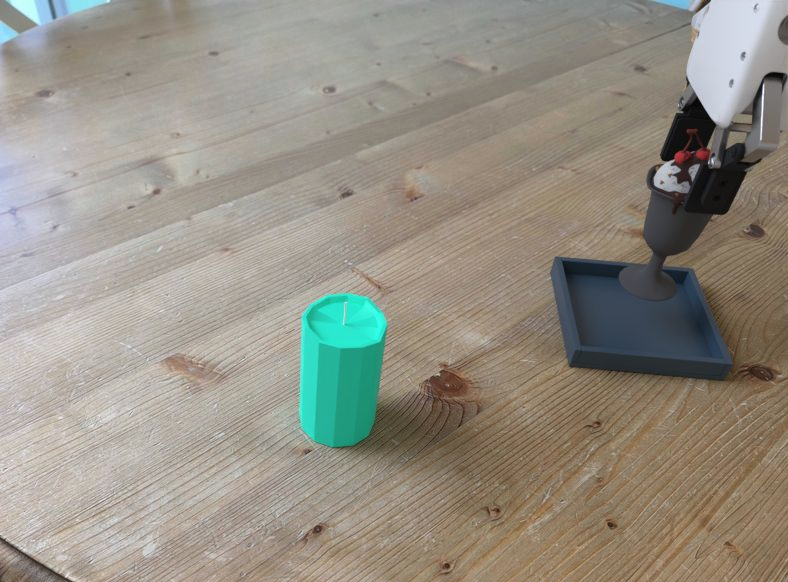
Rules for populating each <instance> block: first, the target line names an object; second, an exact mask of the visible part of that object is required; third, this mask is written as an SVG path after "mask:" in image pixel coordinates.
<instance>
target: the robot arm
mask: <svg viewBox="0 0 788 582" xmlns="http://www.w3.org/2000/svg"><path fill="white" fill-rule="evenodd" d="M709 3H710V4H709ZM709 3H708V4H709V7H708V9H707V11H706V14H705V16H704V18H703V21H702V23H701V26H700V28H699V31H698V33H697V36H696V39H695V41H694V44H693V43H692V44H693V45H692V47H691V50H690V54H689V57H688V60H687V64H686V77H685V82H686V81H687V86H686V90H685V91H684V90H683V91H684V93H683V92H682V94H681V95H680V97H679V99H678V103H677V111H678V112H675V115H674V117H673V119H672V122H671V125H670V128H669V130H668V133H667V135H666V138H665V140H664V143H663V144H662V145H663V146H662V148H661V150H660V152H659V157H660V160H661V161H662V162H664V163H667V162H669V161H671V160H674V159H675V154H677V153H678V152H679V151H683V150H684V148H685V147H686V146H687V144H688V142H689V140H690V137H691V136H690V134H688V133H687V130H688V129H697V135H698V137H699V139H700V141H701V143H702V144H703V146H704V148H708V146H709V144H710V141H711V139H712V142H711V148H710V150H711V151H710V155H709V159H708V161H701V164H700V166H699V168H698V171H697V173H696V175H695V177H694V180H693V182H692V184H691V187H690V189H689V191H688V194H687V196H686V198H685V200H684V203H683V208H684V210H685V211H686V212H689V213H701V214H713V216H724V215H726V214H728V212H729V211H730V209H731V207H732V205H733V203H734V201H735V198H736V197H737V195H738V193H739V190H740V188H741V186H742V185H743V182H744V181H745V178H746V176H747V174H748V173H751V172H752V171H753V170H754V168H755V166H756V165H757V164H759V163H761V161H762V160H763V159H764V158H765V157H767V156H769V155H771V154H773V153H774V152H775V151H776V150H777V149H778V147H779V145H780V139H781V134H784V133H785V132H788V0H710V2H709ZM736 115H746V116H751V123H750V122H749V123H748V122H736V121H734V122H733V120H734V118H735V117H736ZM731 132H734V133H744V134H745V133H746V136H745V139H744V141H743V142H736V143H734V144H733V145H731V146H729V147H728V142H729V137H730V133H731ZM712 136H713V138H712ZM699 149H701V145H700V143H699V142H698V140H697V137H696V134H695V133H693V134H692V141H691V143H690V145H689V147H688V148H687V150H686V151H689V152H690V153H691V152H694V151H697V150H699Z"/></svg>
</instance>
